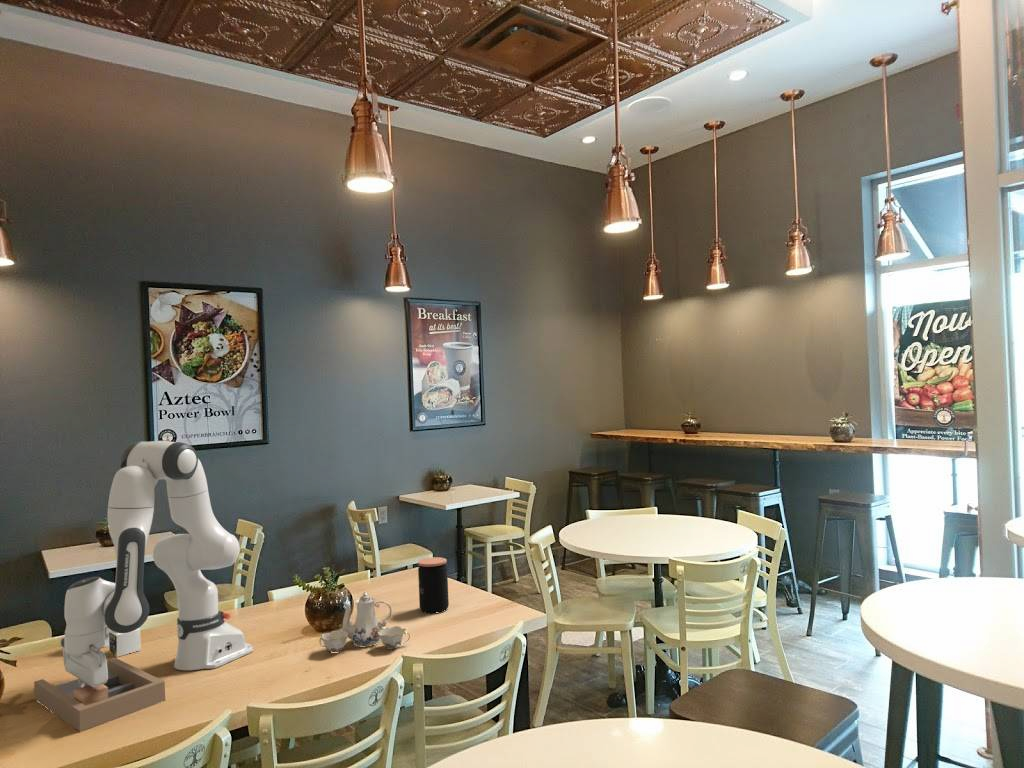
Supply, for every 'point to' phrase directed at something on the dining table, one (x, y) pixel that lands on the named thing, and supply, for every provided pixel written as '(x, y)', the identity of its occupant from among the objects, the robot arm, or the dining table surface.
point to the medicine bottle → (124, 642)
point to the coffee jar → (433, 584)
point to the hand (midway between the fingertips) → (86, 695)
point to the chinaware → (364, 628)
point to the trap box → (124, 697)
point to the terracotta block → (90, 694)
